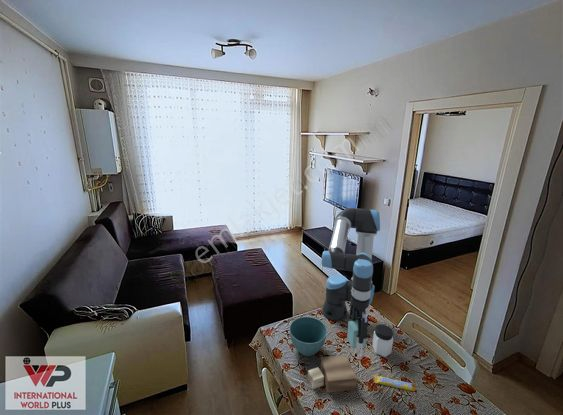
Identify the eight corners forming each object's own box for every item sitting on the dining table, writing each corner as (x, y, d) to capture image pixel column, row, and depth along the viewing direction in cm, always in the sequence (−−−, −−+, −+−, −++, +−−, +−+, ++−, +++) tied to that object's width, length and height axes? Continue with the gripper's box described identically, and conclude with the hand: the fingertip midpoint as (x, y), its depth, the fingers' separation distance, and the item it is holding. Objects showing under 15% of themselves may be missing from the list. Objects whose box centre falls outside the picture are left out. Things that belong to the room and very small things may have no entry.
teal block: (347, 338, 117) (348, 321, 115) (359, 336, 118) (361, 320, 115) (352, 348, 111) (353, 330, 109) (365, 347, 112) (367, 329, 110)
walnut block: (320, 367, 119) (321, 357, 118) (345, 365, 120) (346, 354, 119) (327, 392, 108) (328, 381, 106) (355, 389, 109) (356, 378, 107)
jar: (383, 359, 124) (385, 339, 120) (369, 348, 130) (371, 328, 127) (394, 351, 128) (397, 331, 125) (380, 340, 135) (382, 321, 132)
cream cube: (307, 379, 114) (308, 370, 112) (317, 375, 115) (318, 366, 114) (313, 389, 109) (313, 380, 108) (323, 385, 111) (323, 376, 109)
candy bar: (414, 384, 112) (414, 381, 111) (416, 393, 108) (416, 390, 107) (373, 375, 116) (373, 372, 115) (373, 384, 112) (374, 381, 111)
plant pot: (283, 356, 125) (283, 335, 122) (297, 331, 141) (298, 312, 138) (318, 370, 118) (320, 348, 114) (330, 343, 133) (331, 323, 130)
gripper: (343, 284, 117) (340, 327, 123) (361, 311, 99) (356, 360, 105) (359, 283, 118) (355, 326, 124) (380, 309, 100) (374, 358, 106)
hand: (355, 341), depth 114 cm, fingers closed on teal block, 6 cm apart
